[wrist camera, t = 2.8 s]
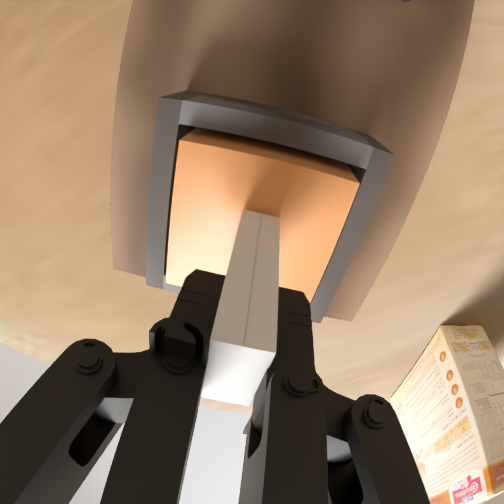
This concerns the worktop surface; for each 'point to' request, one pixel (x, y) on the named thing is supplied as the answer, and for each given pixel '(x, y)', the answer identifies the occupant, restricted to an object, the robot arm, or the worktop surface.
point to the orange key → (255, 204)
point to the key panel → (286, 112)
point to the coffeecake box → (456, 416)
